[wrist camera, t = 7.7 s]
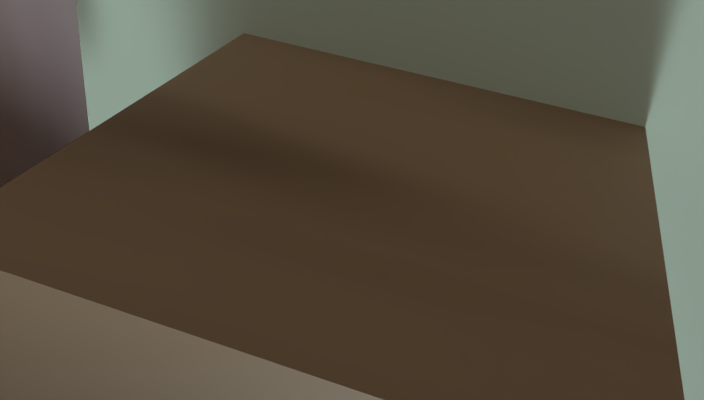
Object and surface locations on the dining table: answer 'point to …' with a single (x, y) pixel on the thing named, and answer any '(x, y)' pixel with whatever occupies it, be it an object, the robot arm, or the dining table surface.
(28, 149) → the dining table surface
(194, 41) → the base slab
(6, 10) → the dining table surface
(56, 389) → the walnut cube
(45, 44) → the dining table surface
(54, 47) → the dining table surface
